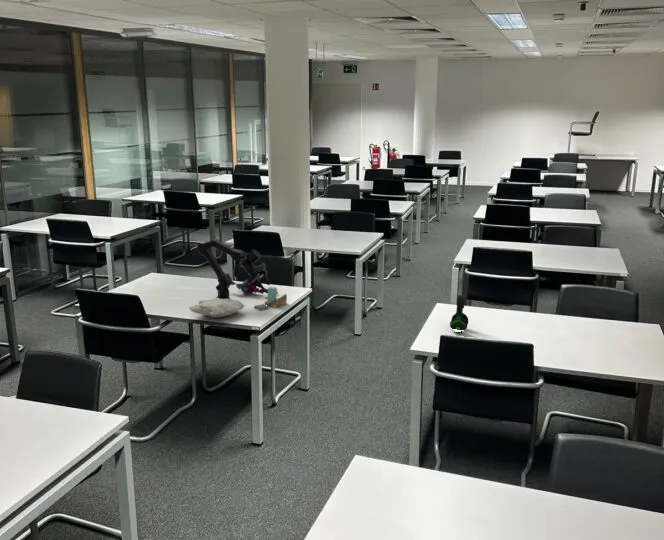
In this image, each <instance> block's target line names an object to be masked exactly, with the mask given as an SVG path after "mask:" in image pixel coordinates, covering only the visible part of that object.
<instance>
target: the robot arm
mask: <svg viewBox="0 0 664 540" xmlns="http://www.w3.org/2000/svg"><path fill="white" fill-rule="evenodd" d="M213 247H214V248H216V249H217V250H220V251H221V252H223V253H225V254H227V255H229V256H230V258H231V259H232V260H234V261H236V262H237V263H238V268H241V267H242V268H243V269H244V270H245V271H246V274H247V275H249V276H250V277H249V278H248V279H246V280H247V282H248V283H249V284H251V285H255V286H257V287H256V288H259V289H263V288H265V287H264V285H263V284H262V283H261V282H263V283H264V284H266V285H268V286H270V285H271V284H270V281H269V278H268V275H267V274H268V270H267V264H266V263H264V262H262V263H260V265H259V266H257V265H256V264H255V263H256V262H257V261H259V259H260V258H261V257H262V255H261V253H260V252H259V251H257V250H255V249H251V250H250V251H249V253H247V252H245V251H244V250H240V249H237V248H232V247H231V246H230V245H227V244H226V243H224V242H221V241H219V240H218V239H212V240H211V241H208V242H207V241H204V242H201V243H198V244H197V247H196V250H197V251H198V253H199V254H200V255H201V256H203V257H204V258H205V259H206V261H207V262H208V264H209V265H210V267H211V268H212V270H213V272H214V273H215V275H216V277H217V282H218V284H217V286H215V289H216V291H217V296H216V299H218V298H219V299H229V298H230V290H229V288H231V286H232V285H231V284H232V281H233V280H232V277H231V275H230V274H229V273H225V272H224V271H223V268H222V267H221V266H220V264H219V262H218V261H217V259H216V258H215V256H214V254H213V250H212V248H213ZM254 264H255V265H254Z"/></svg>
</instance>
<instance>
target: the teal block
mask: <svg viewBox="0 0 664 540" xmlns="http://www.w3.org/2000/svg"><path fill="white" fill-rule="evenodd" d="M267 289H268V293H267V300H268V301H275V300H276V298H277V294H276V293H277V292H276V289H277V286H269V287H267Z"/></svg>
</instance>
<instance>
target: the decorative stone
mask: <svg viewBox="0 0 664 540" xmlns="http://www.w3.org/2000/svg"><path fill="white" fill-rule="evenodd" d="M244 307H245V305H244V303H242V302H241V301H240V300H238V299H236V300H235V299H231V298H230V299H218V298H210V299H205V300H199V301H198V304H195V305H192V306H189V308H188V309H189V310H190V311H191V312H192V313H195V314H200V315H205V316H208V317H210V318H213V319H214V318H215V319H217V318H223V317H227V316H230V315H232V314H235V313H236V312H238V311H240V310H242V309H244Z"/></svg>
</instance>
